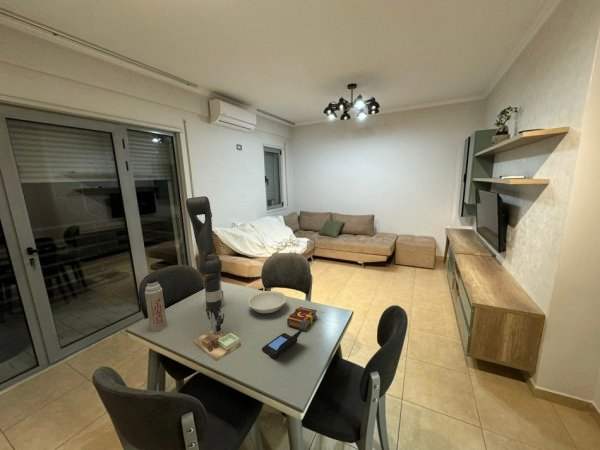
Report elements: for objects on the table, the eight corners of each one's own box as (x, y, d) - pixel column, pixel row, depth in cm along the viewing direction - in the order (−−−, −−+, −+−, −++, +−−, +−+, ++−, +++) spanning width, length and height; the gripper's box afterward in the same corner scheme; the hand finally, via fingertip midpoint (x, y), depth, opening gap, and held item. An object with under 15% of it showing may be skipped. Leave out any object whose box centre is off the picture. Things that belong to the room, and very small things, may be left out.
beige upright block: (213, 338, 120) (212, 333, 119) (219, 342, 117) (218, 337, 116) (202, 345, 115) (201, 339, 115) (207, 349, 112) (207, 343, 112)
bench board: (216, 329, 130) (215, 321, 129) (240, 345, 116) (240, 336, 115) (192, 342, 120) (191, 333, 119) (216, 360, 106) (215, 351, 106)
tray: (231, 337, 121) (230, 332, 120) (239, 343, 116) (239, 338, 116) (218, 344, 115) (217, 340, 115) (226, 351, 111) (226, 346, 110)
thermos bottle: (166, 330, 131) (160, 280, 126) (149, 334, 127) (142, 284, 122) (167, 323, 138) (161, 276, 133) (150, 327, 134) (144, 279, 129)
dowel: (217, 330, 127) (216, 312, 125) (221, 332, 125) (220, 314, 123) (211, 333, 124) (209, 315, 123) (216, 336, 122) (214, 317, 120)
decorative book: (286, 326, 132) (286, 317, 131) (300, 312, 146) (300, 304, 145) (305, 331, 126) (305, 322, 125) (317, 316, 140) (317, 308, 140)
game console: (284, 334, 124) (283, 318, 123) (304, 345, 115) (304, 328, 114) (260, 350, 112) (259, 333, 111) (281, 364, 104) (280, 345, 102)
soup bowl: (270, 324, 133) (270, 313, 132) (239, 313, 146) (238, 303, 145) (294, 305, 153) (294, 295, 152) (265, 297, 166) (264, 288, 165)
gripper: (228, 299, 120) (230, 330, 123) (212, 291, 129) (215, 321, 132) (214, 305, 114) (217, 338, 117) (199, 296, 123) (202, 328, 126)
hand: (216, 329), depth 124 cm, fingers closed on dowel, 3 cm apart
